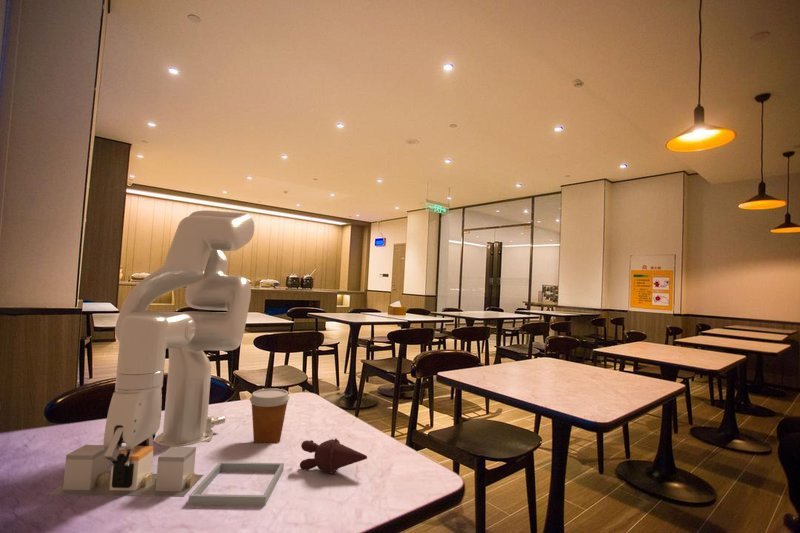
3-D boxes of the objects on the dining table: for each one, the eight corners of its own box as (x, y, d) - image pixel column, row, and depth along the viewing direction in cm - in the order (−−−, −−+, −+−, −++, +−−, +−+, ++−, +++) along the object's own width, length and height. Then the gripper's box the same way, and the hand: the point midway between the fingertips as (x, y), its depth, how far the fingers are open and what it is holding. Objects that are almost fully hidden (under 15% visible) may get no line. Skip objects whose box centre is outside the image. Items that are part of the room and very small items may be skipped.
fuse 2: (169, 478, 74) (171, 446, 74) (193, 478, 74) (196, 447, 74) (155, 490, 69) (158, 456, 70) (181, 491, 69) (184, 457, 70)
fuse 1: (82, 476, 73) (85, 444, 73) (107, 477, 73) (110, 445, 73) (62, 489, 68) (66, 455, 69) (89, 489, 68) (93, 455, 69)
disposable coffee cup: (263, 452, 89) (267, 400, 90) (238, 442, 94) (242, 393, 95) (294, 440, 97) (297, 392, 98) (269, 431, 102) (273, 386, 103)
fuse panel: (82, 477, 74) (83, 464, 74) (203, 479, 76) (204, 466, 76) (47, 500, 66) (48, 484, 66) (183, 502, 68) (184, 487, 68)
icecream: (371, 437, 85) (308, 435, 88) (363, 440, 78) (294, 439, 81) (370, 472, 83) (306, 469, 85) (361, 479, 76) (291, 476, 79)
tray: (218, 473, 78) (219, 461, 78) (283, 475, 79) (283, 463, 79) (187, 510, 65) (189, 495, 65) (264, 511, 66) (265, 497, 66)
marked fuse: (126, 477, 73) (129, 445, 74) (150, 478, 73) (153, 446, 74) (109, 490, 69) (112, 455, 69) (135, 490, 69) (138, 456, 69)
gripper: (146, 370, 80) (138, 459, 79) (85, 391, 64) (74, 504, 62) (183, 371, 81) (175, 460, 80) (132, 393, 64) (122, 505, 63)
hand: (131, 478), depth 71 cm, fingers closed on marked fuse, 4 cm apart
